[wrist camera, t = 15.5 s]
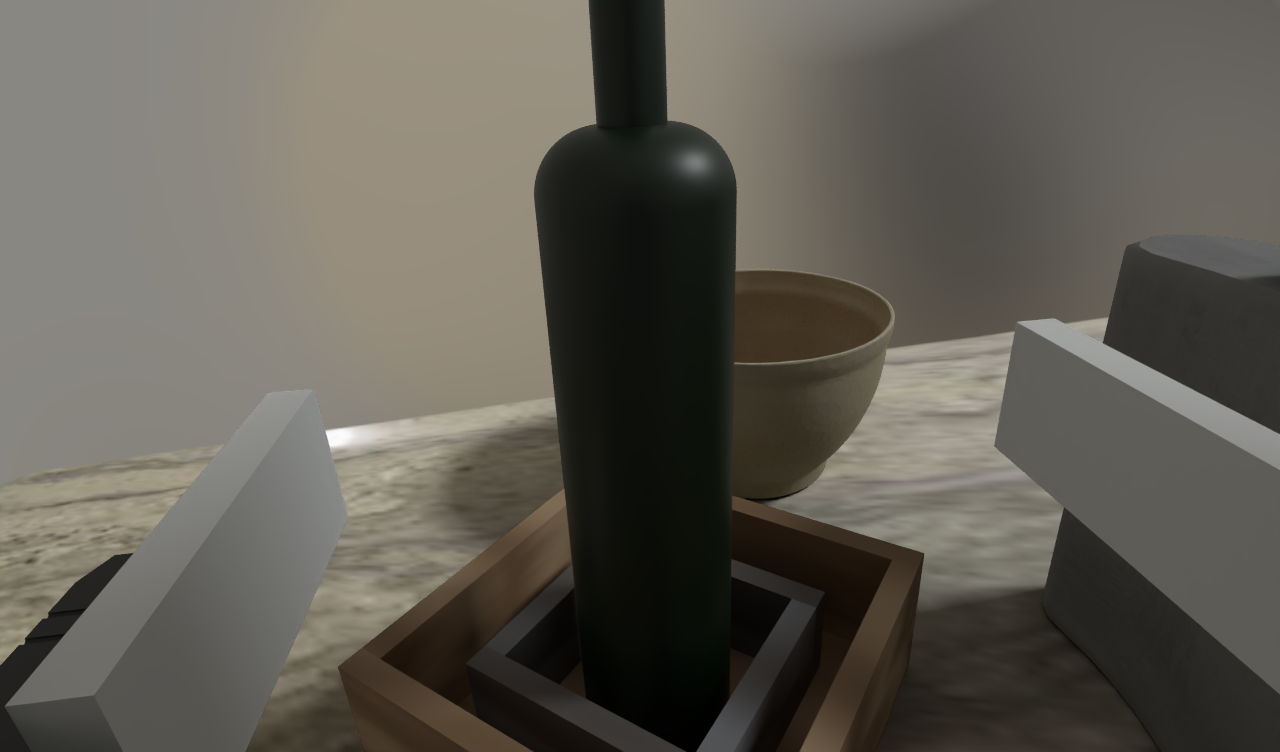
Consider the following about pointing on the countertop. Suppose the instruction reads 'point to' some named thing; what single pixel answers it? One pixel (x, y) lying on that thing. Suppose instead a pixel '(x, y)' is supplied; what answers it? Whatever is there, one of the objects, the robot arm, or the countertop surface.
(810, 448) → the planter bowl
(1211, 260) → the flask
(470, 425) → the countertop surface
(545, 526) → the crate
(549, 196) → the wine bottle
